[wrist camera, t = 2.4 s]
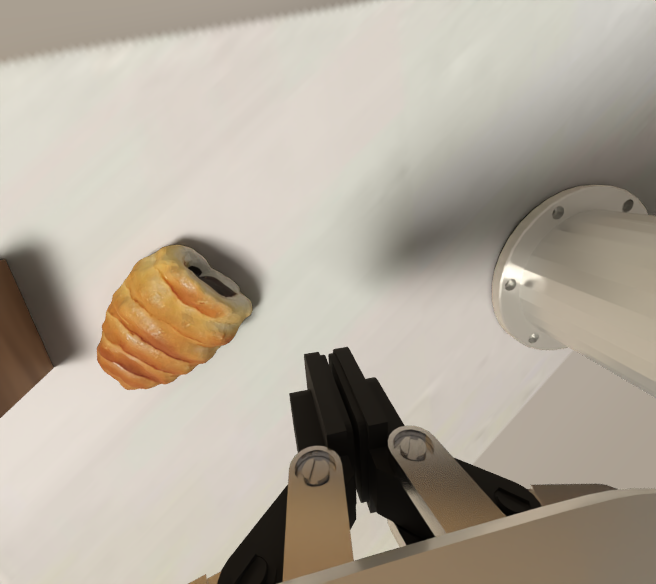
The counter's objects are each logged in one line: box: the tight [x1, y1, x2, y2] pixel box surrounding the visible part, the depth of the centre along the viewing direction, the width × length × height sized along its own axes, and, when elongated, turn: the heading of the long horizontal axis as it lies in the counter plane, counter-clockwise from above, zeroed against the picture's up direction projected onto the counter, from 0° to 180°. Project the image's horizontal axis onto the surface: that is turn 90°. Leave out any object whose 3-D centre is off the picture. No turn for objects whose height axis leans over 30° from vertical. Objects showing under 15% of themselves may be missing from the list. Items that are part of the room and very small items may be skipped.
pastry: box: [97, 245, 252, 390], centre depth 19 cm, size 9×7×4 cm
